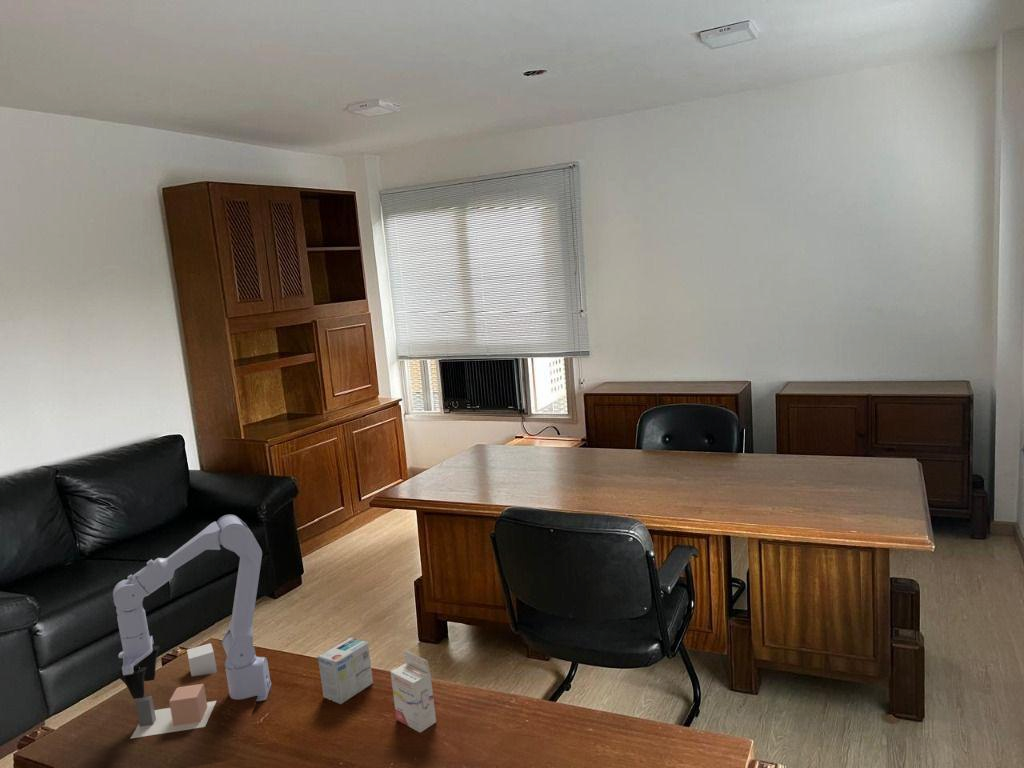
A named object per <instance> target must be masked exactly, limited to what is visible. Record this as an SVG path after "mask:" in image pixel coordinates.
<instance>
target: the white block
mask: <svg viewBox="0 0 1024 768" xmlns="http://www.w3.org/2000/svg"><path fill="white" fill-rule="evenodd" d="M186 654H187V660H188V665H189V672H190V675H191V677H196V676H197V677H198V676H203V675H204V676H205V675H210V674H217V673H218V669H217V664H216V658H215V652H214V649H213V645H212V643H207V644H203V645H199V646H195V647H193V648H189V649H186Z"/></svg>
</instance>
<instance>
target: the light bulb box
mask: <svg viewBox="0 0 1024 768" xmlns="http://www.w3.org/2000/svg"><path fill="white" fill-rule="evenodd" d="M317 660H318V667H319V675H320V681H321V688H322V694H323V698H324V699H326V698H327V699H326V700H329V701H331V700H332V702H334V703H337V704H339V705H342V704H344V703H346V702H347V701H348V700H350V698H351V699H352V698H353V697H354V696H356V695H358V694H359V693H360V692H362V691H364V690H365V689H367V688H368V687H369V686H371V685H372V684H373V683H374V680H373V670H372V663H371V656H370V649H369V642H368V641H364V640H360V639H356V638H354V637H348V638H346V639H345V640H343V641H342V642H339V644H337V645H335V646H334V647H332V648H331V649H328V650H327V651H325V652H324V653H321V654H319V655H318V656H317Z"/></svg>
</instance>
